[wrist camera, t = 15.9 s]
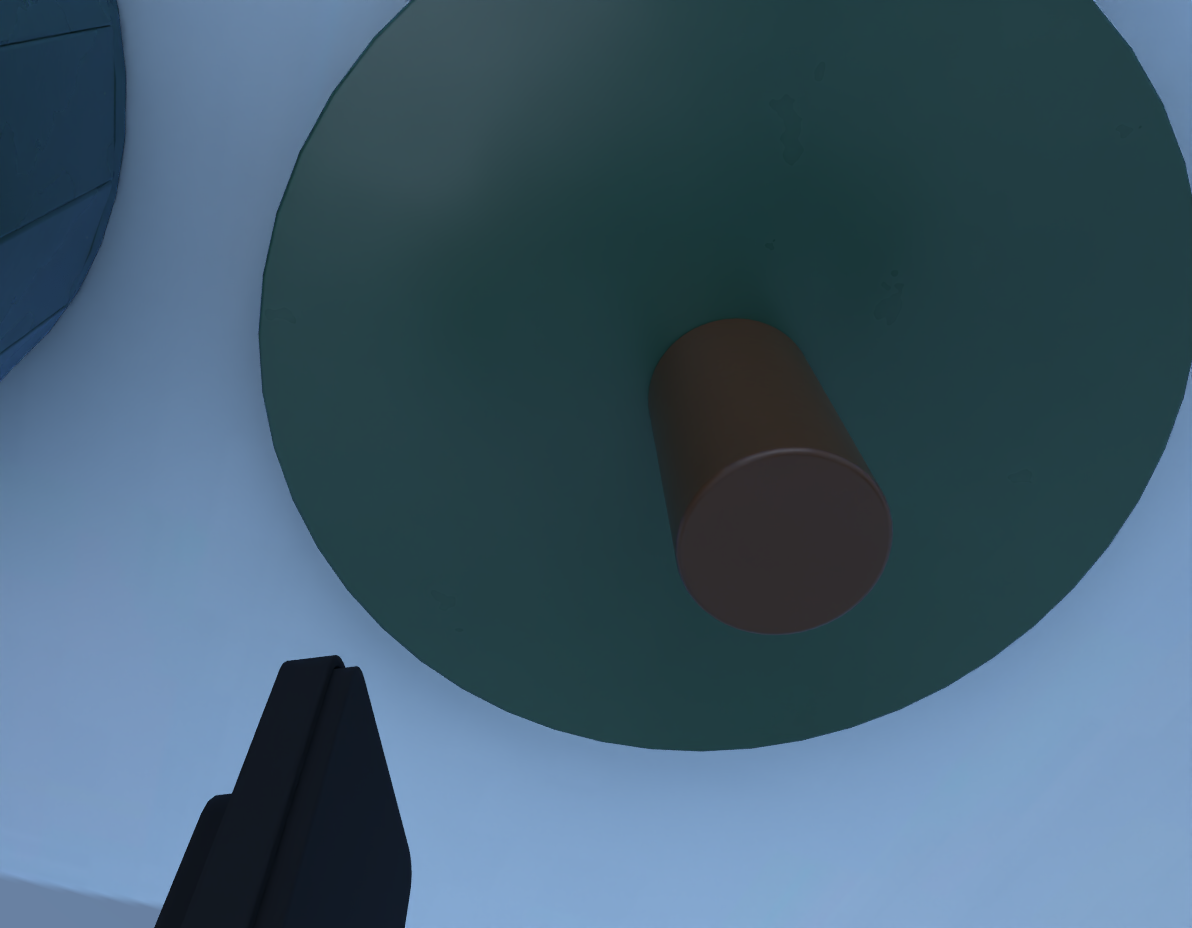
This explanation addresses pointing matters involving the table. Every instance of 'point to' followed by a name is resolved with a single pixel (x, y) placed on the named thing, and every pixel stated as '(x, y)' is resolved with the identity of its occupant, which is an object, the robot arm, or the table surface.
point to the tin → (54, 157)
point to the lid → (726, 346)
